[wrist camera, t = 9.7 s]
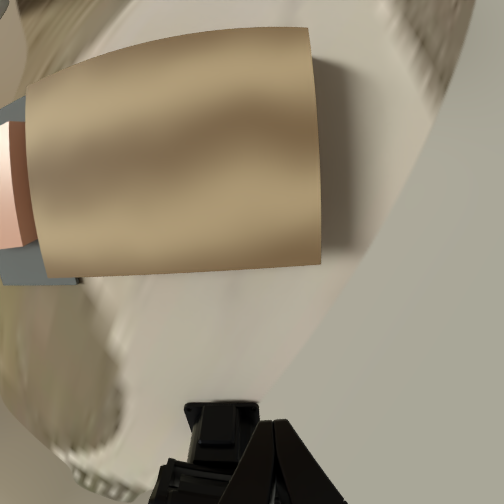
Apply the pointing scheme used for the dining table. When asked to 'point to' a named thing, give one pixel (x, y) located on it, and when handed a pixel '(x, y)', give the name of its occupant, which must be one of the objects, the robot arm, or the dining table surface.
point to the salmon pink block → (15, 188)
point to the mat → (29, 256)
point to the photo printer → (3, 7)
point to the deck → (178, 157)
